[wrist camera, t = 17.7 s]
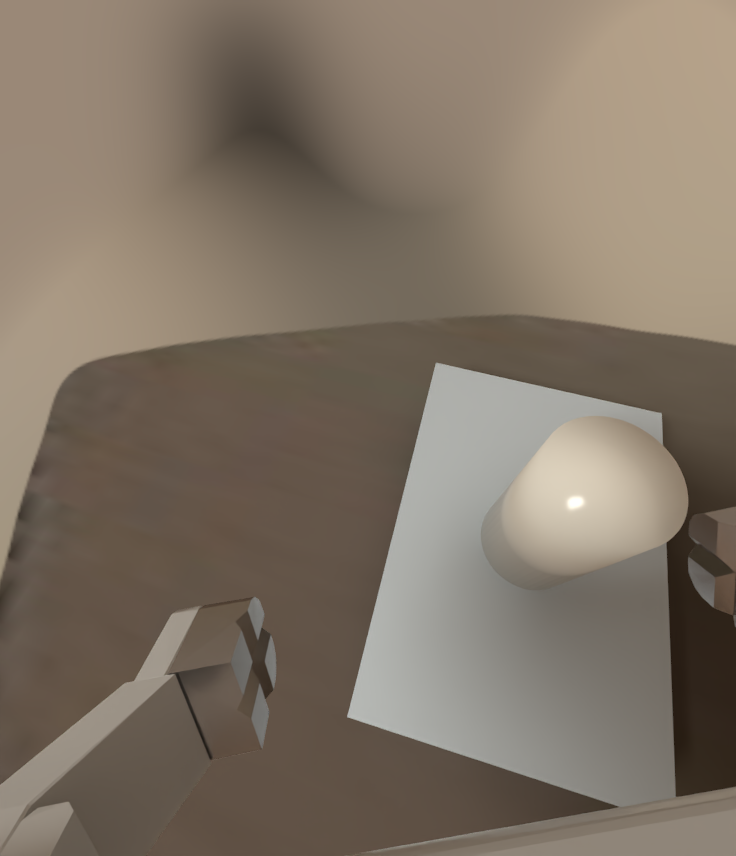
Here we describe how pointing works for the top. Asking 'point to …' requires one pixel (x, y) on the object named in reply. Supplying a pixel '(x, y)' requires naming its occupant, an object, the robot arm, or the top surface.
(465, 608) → the shelf
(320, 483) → the top surface
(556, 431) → the white rounded cylinder
